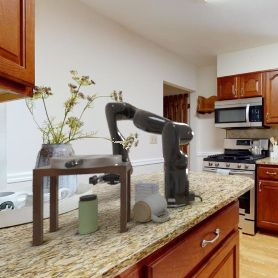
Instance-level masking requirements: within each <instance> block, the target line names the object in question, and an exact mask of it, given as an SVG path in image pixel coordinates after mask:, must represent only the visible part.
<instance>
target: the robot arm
mask: <svg viewBox="0 0 278 278" xmlns="http://www.w3.org/2000/svg"><path fill="white" fill-rule="evenodd" d="M120 102H122V103H120ZM104 114H105V115H104V116H105V119H106V123H107V128H108V133H109V136H110V141H111V148H112V149H111V150H112V155H121V156H122V162H131V160H130V156H129V150H128V151H127V150H126V149H123V145H122V144H120V143H114V142H115V141H124V140H126V141H127V139H126V138H125V137H124V135H123V134H122V133H121V131H120V130H119V127H118V122H122V121H132V124H133V126H134V127H135V128H136V129H138V130H140V131H142V132H145V133H148V134H153V135H156V136H157V135H158V136H161V150H162V151H161V152H162V156H163V159H164V164H163V168H164V173H163V174H164V175H163V177H164V179H163V181H164V182H163V183H164V184H163V187H164V188H163V189H164V191H163V192H164V193H163V196H164V198H165V199H166V201H167V208H180V207H183V206H188V205H190V202H195V201H196V198H197V199H198V198H199V199H200V202H201V203H202V202H203V201H204V200H203V197H202V196H200V195H198V194H196V192H195V191H194V190H190V180H189V154H187V153H186V152H183V151H182V150H181V146H184V145H187V144H189V143H191V142H192V140H193V138H194V130H193V128H192V127H191V126H190V125H189V124H187V123H185V122H179V121H174V120H171V119H168V118H166V117H165V116H161V115H160V114H156V113H154V112H151V111H148V110H145V109H142V108H139V107H136V106H135V105H132V104H131V103H129V102H125V101H110V102H107V103H106V104H105V106H104ZM113 138H114V139H113ZM112 141H114V142H112ZM133 172H134V167H133V164H131V176H132V175H133ZM88 184H89V185H92V186H97V185H98V184H100V185H103V184H107V185H110V186H116V185H120V173H103V174H93V175H91V176H90V177H88Z"/></svg>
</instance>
